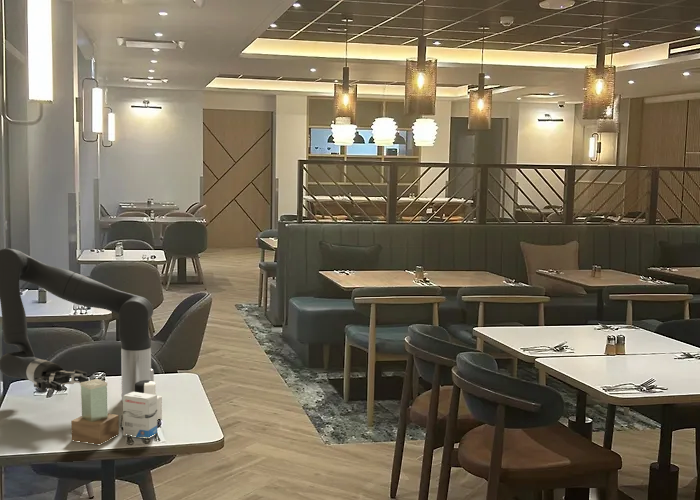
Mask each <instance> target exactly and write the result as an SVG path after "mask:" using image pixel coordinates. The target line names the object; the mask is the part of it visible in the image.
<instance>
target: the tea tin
mask: <svg viewBox="0 0 700 500" xmlns="http://www.w3.org/2000/svg"><path fill="white" fill-rule="evenodd" d="M79 385H80V395H81V399H80V400H81V416H82V418H84V419H86V420H88V421H90V422H94V421H97V420H101V419H105V418H108V414H109V411H108V382H106V381H104V380H101V379H98V378H95V379H91V380H90V379H89V381H85V382H81V383H79Z"/></svg>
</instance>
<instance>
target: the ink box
mask: <svg viewBox="0 0 700 500" xmlns="http://www.w3.org/2000/svg"><path fill="white" fill-rule="evenodd" d="M157 396H158V395H157V394H156V395H153V394H146V393H139V392H131V393H128V394H126V395H124V396H123V401H122V428H123V429H122V431H123V433H122V434H123V436H124V435H126V434H128V435H132V436H136V437H150V436H152V435H154V434H156V433H157V434H158V421H157ZM136 437H135V438H136Z"/></svg>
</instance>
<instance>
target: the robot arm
mask: <svg viewBox="0 0 700 500" xmlns="http://www.w3.org/2000/svg"><path fill="white" fill-rule="evenodd" d="M20 281H23V282H26V283H30V284H32V285H35V286H37V287H40V288H41V289H44V290H45V291H46V292H48V293H50V294H52V295H54V296H55V297H58V298H59V299H62V300H64V301H67V302H70V303H73V304H75V305H79V306H82V307H88V308H94V309H100V310H101V309H102V310H106V311H110V312H111V313H114V314H117V315H118V333H119V334H118V335H119V341H120V347H121V350H120V353H121V354H120V358H121V359H120V360H121V368H120V369H121V402H123V396H124V395H126V394H128V393H131V392H135V383H137V382H139V381H142V380H150V381H153V382H155V378H154V377H155V371H154V369H153V368H152V339H151V337H150V335H149V333H150V332H149V320H151V318H152V317H153V315H154V307H153V304H152V302H150V300H149V299H147V298H146V297H144V296H140V295H137V294H133V293H129V292H125V291H121V290H119V289H116V288H113V287H112V286H111V287H110V285H107V284H104V283H102V282H100V281H97V280H95V279H94V278H93V279H92V278H91V277H87V276H85V275H83V274H80V273H78V272H74V271H72V270H69V269H65V268H62V267H57V266H54V265H50V264H46V263H44V262H43V261H39V260H38V259H35V258H33V257H32V256H30V255H28V254H26V253H24V252H22V251H21V250H18V249H13V248H9V247H8V248H7V247H6V248H1V249H0V309H1V310H0V311H1V320H2V334H3V342H4V344H6V345H9V346H16V347H17V349H18V351H13V352H8V353H5V354H3V355H2V356H1V357H0V371H1V373H2V374H3V375H4V376H7V377H9V378H16V379H17V378H18V379H24V380H26V381H27V380H28V381H29V382H32V383H33V387H34V388H37V389H38V390H41V391H46V390H47V389H48V390H51V391H52V390H53V391H56V392H61V391H62V385H63V386H64V385H74V384H80V383H81V382H85V381H90V378H89V377H88V373H87V372H86V371H83V370H80V369H76V368H74V369H73V370H72V371H66V370H64V369H63V367H62V366H61V365H59V364H57V363H56V362H55V363H54V362H52V361H49V360H46V359H41V358H38V357H36V355H35V353H34V351H33V348H32V345H31V341H30V340H29V336H28V334H29V333H28V323H27V315H26V311H25V306H24V302H23V299H22V296H21V290H20ZM70 379H71V380H70Z"/></svg>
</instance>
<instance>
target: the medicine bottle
mask: <svg viewBox="0 0 700 500" xmlns="http://www.w3.org/2000/svg"><path fill="white" fill-rule="evenodd" d="M156 386H157V383H156V382H155V381H154V382H153V381H150V380H142V381H139V382H137V383H135V392H139V393H146V394H153V395H157V393H156V392H157V391H156V390H157V389H156ZM158 419H160V420H162V419H163V396H162V395H157V420H158ZM158 421H159V420H158Z"/></svg>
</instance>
